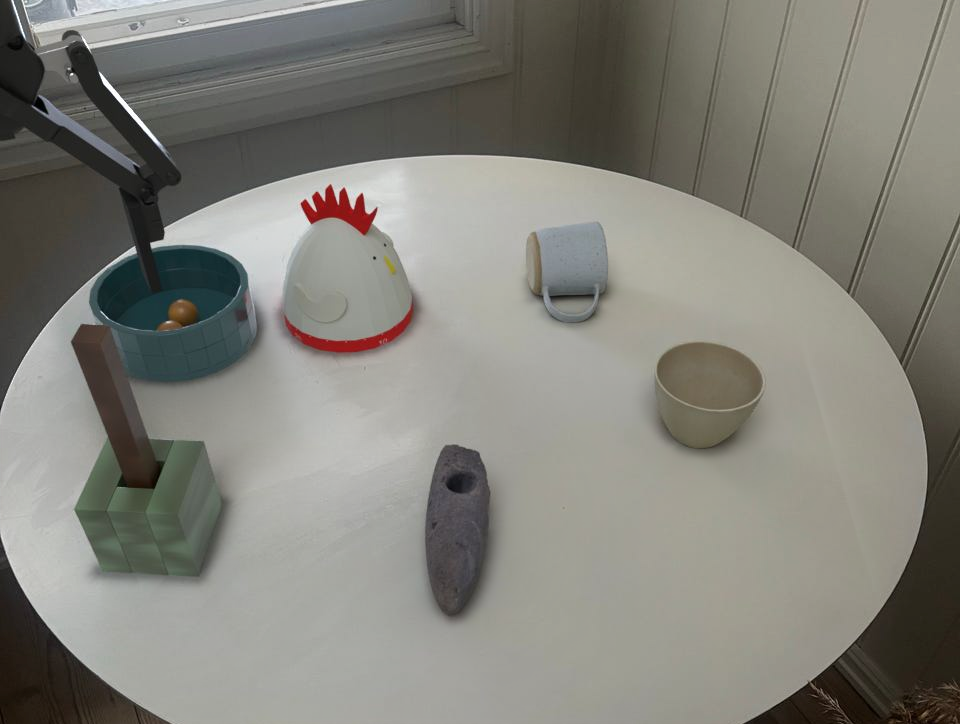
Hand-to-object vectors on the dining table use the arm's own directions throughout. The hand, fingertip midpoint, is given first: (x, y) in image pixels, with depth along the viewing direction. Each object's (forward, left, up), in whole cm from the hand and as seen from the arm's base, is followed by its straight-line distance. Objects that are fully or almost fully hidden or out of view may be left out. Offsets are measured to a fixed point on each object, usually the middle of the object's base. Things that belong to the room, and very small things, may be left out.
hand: (50, 307), depth 61 cm
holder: (+2, 0, -24) cm, 24 cm away
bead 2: (-3, +28, -21) cm, 35 cm away
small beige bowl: (+49, +16, -24) cm, 57 cm away
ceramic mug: (+37, +37, -24) cm, 58 cm away
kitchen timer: (+13, +32, -24) cm, 42 cm away
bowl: (-4, +27, -24) cm, 37 cm away
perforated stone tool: (+27, -1, -24) cm, 36 cm away
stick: (+2, 0, -24) cm, 24 cm away
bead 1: (-4, +24, -21) cm, 32 cm away
